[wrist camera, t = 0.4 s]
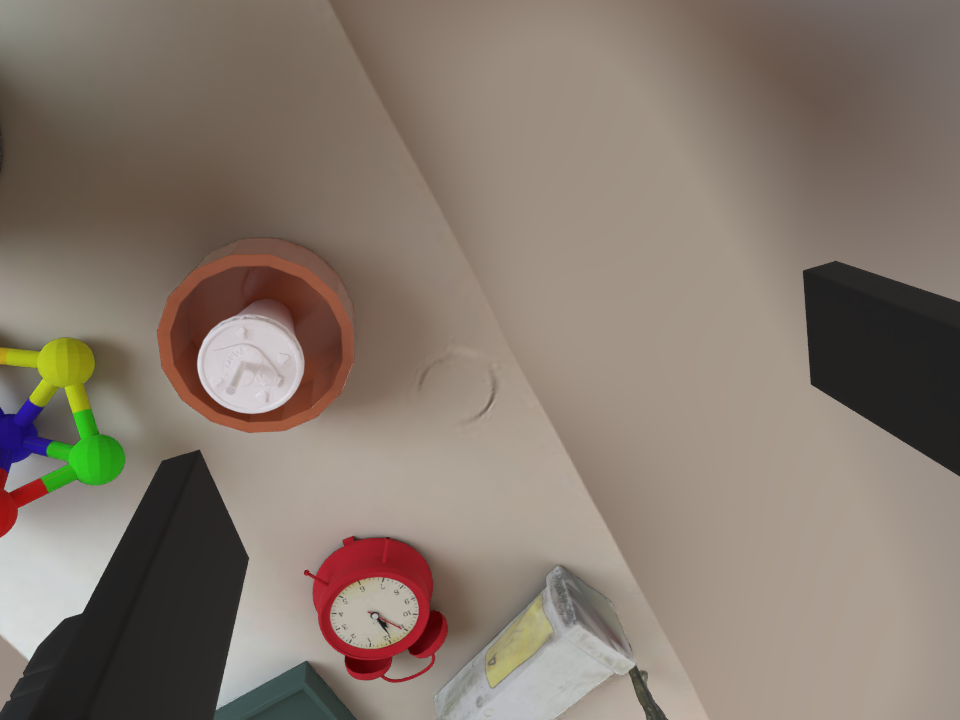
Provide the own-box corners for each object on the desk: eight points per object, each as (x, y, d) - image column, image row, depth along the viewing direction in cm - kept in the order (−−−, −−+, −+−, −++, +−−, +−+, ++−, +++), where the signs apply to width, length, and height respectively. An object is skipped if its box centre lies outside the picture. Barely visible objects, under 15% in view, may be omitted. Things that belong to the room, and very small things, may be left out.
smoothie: (246, 265, 51) (209, 321, 38) (326, 305, 53) (318, 372, 40) (208, 339, 52) (160, 417, 39) (288, 376, 54) (268, 462, 41)
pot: (142, 324, 52) (116, 351, 46) (258, 200, 50) (246, 213, 44) (277, 429, 56) (268, 465, 50) (387, 318, 54) (391, 343, 49)
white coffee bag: (475, 727, 70) (488, 800, 63) (416, 689, 67) (423, 761, 60) (613, 602, 68) (644, 663, 60) (557, 558, 65) (583, 616, 58)
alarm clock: (403, 531, 57) (472, 688, 59) (405, 504, 63) (467, 647, 65) (282, 581, 57) (356, 736, 59) (296, 549, 63) (362, 691, 65)
